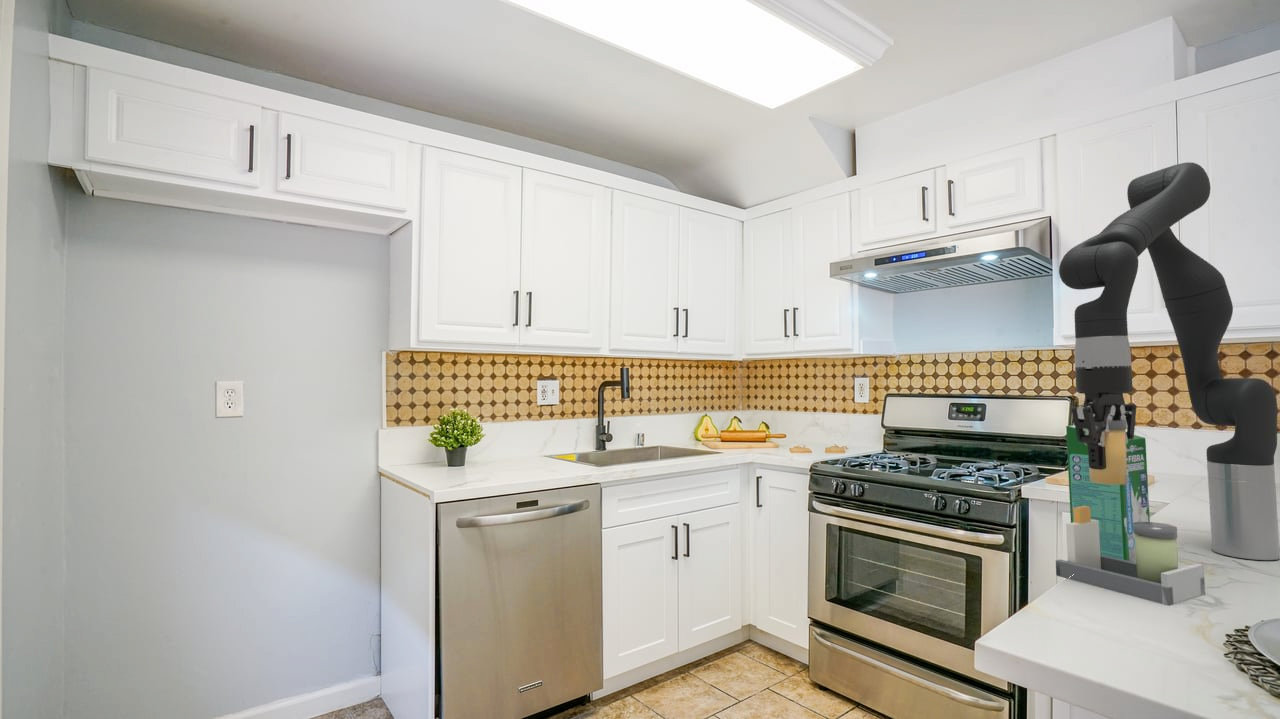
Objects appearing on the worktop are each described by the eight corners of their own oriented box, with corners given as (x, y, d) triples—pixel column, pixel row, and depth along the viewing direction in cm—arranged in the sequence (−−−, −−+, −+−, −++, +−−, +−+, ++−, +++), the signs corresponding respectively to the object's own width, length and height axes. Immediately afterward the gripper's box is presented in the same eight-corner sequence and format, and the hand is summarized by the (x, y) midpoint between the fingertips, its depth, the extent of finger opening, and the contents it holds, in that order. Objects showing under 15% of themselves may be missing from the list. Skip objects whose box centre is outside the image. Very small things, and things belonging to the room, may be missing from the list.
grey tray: (1092, 571, 109) (1090, 541, 109) (1205, 599, 94) (1203, 564, 95) (1056, 580, 105) (1055, 549, 105) (1169, 610, 90) (1167, 574, 90)
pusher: (1093, 567, 107) (1090, 504, 108) (1101, 569, 106) (1097, 505, 107) (1068, 573, 104) (1065, 508, 105) (1076, 575, 103) (1072, 510, 104)
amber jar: (1100, 478, 105) (1098, 418, 106) (1135, 482, 101) (1132, 420, 101) (1082, 481, 103) (1079, 419, 104) (1116, 485, 99) (1113, 421, 99)
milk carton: (1126, 568, 110) (1119, 427, 111) (1071, 556, 118) (1065, 425, 119) (1152, 561, 114) (1145, 425, 115) (1097, 549, 122) (1091, 422, 123)
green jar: (1148, 584, 99) (1144, 520, 100) (1187, 594, 94) (1184, 526, 95) (1129, 589, 97) (1125, 524, 97) (1169, 600, 92) (1165, 531, 93)
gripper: (1103, 365, 109) (1108, 462, 109) (1052, 365, 103) (1056, 468, 103) (1153, 363, 102) (1158, 467, 102) (1101, 364, 96) (1106, 474, 96)
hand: (1107, 467), depth 102 cm, fingers closed on amber jar, 5 cm apart
